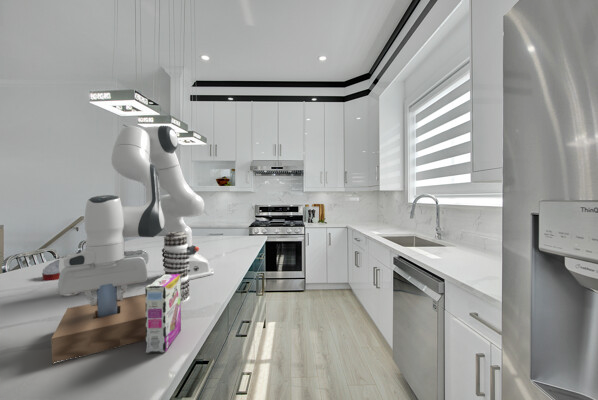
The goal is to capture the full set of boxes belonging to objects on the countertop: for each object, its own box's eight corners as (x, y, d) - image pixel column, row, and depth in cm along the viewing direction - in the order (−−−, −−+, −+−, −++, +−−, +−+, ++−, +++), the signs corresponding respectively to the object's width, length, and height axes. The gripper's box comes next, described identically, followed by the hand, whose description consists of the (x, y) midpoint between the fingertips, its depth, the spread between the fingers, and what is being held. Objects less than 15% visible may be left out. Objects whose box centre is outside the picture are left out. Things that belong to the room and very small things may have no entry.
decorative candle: (170, 295, 104) (169, 230, 103) (194, 295, 104) (193, 230, 103) (157, 305, 95) (156, 234, 94) (183, 305, 94) (182, 234, 94)
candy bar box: (166, 353, 66) (165, 286, 65) (145, 354, 65) (143, 287, 65) (182, 330, 77) (181, 273, 77) (164, 331, 76) (162, 273, 76)
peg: (117, 319, 79) (116, 279, 79) (117, 326, 75) (116, 283, 75) (98, 324, 76) (97, 282, 76) (97, 330, 73) (95, 286, 72)
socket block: (146, 311, 90) (146, 293, 89) (151, 338, 73) (150, 316, 73) (68, 328, 79) (67, 308, 79) (52, 364, 62) (51, 338, 62)
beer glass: (69, 297, 103) (68, 258, 103) (55, 296, 104) (53, 258, 104) (87, 291, 110) (86, 254, 109) (73, 290, 111) (72, 254, 111)
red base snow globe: (70, 285, 132) (75, 268, 130) (42, 289, 123) (48, 271, 121) (64, 271, 138) (69, 255, 136) (37, 274, 129) (42, 256, 127)
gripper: (147, 247, 84) (148, 291, 84) (60, 256, 73) (62, 307, 73) (149, 250, 78) (150, 298, 79) (55, 261, 67) (57, 316, 68)
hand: (107, 302), depth 76 cm, fingers closed on peg, 4 cm apart
